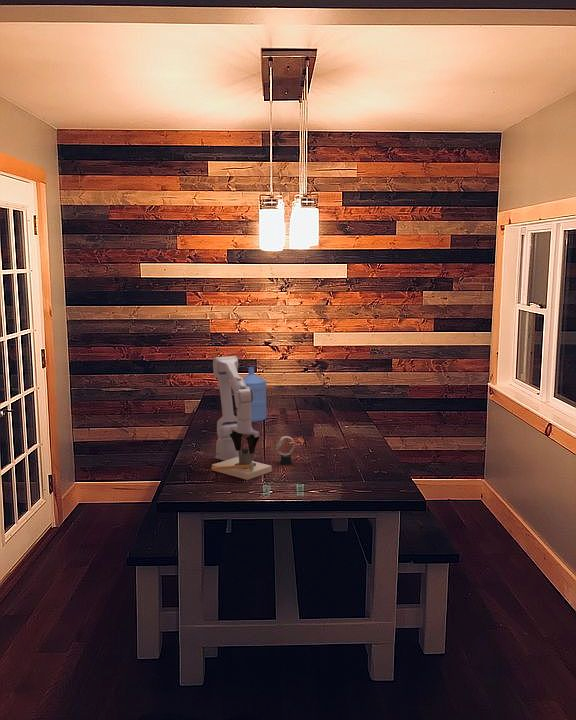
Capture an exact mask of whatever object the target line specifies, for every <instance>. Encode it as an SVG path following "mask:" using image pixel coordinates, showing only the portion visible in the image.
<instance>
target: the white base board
mask: <svg viewBox="0 0 576 720" xmlns="http://www.w3.org/2000/svg"><path fill="white" fill-rule="evenodd" d="M252 462H253V463H256V466H254V469H253V470H250V469H249V468H247V469H244V468H240V469H224V470H212V471H215V472H216V473H222V474H225V475H228V476H232V477H235V478H239V479H241V480H242V479H243V480H246V481H249V480H251V479H255V478H257V477H260V476H263V475H265V474H269V473H271V472H272V471H273V468H272V467H273V466H272V465H270V464H267V463H266V464H265V463H261V462H257V461H255V460H252ZM236 463H239V458H238V457H235V458H232V459H229V460H226V461H224V460H221V461H220V462H217V463H213V464H211V468H212V467H221V466H235V464H236Z"/></svg>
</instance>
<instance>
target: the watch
mask: <svg viewBox="0 0 576 720" xmlns="http://www.w3.org/2000/svg"><path fill="white" fill-rule="evenodd" d="M285 439H289V440H291V441H292V448H291V449H290V451H289V452H285V453H283V452H281V451H280V450H279V449H280V448H281V446H282V445H283V443H284V440H285ZM295 447H296V445H295V440H294V439H293V437H291V436H288V435H284V436H281V437H279V440H278V441H277V443H276V445H275V448H276V451H277V453H278V454H279V455H280V465H292V454H293V452H294V450H295Z"/></svg>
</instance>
